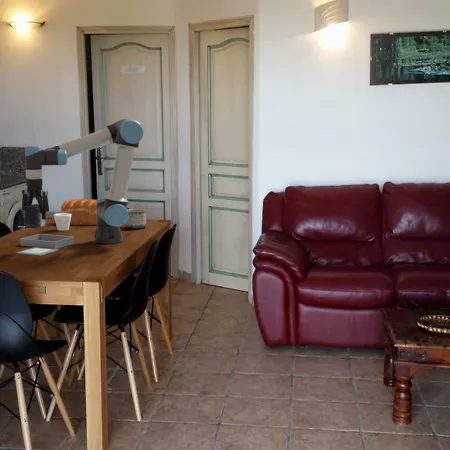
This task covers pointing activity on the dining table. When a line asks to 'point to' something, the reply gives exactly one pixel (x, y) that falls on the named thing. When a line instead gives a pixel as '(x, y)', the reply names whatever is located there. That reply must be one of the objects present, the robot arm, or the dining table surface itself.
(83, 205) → the bread
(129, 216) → the planter
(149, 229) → the dining table surface
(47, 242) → the bin
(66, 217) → the cup
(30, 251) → the pad
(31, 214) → the small box
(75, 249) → the dining table surface
